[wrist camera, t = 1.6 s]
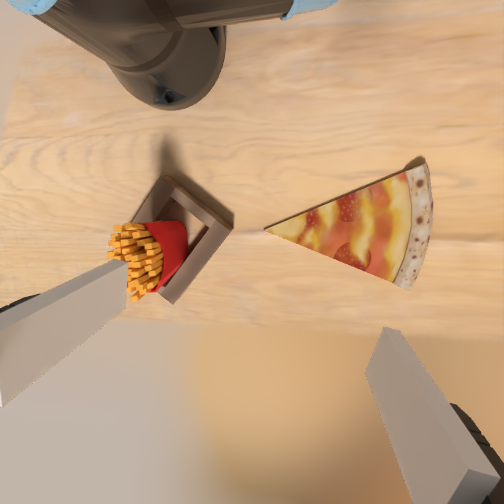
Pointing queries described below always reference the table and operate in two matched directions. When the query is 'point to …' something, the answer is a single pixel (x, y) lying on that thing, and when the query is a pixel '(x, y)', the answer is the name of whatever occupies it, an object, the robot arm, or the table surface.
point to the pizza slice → (372, 227)
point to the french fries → (149, 253)
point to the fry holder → (205, 248)
